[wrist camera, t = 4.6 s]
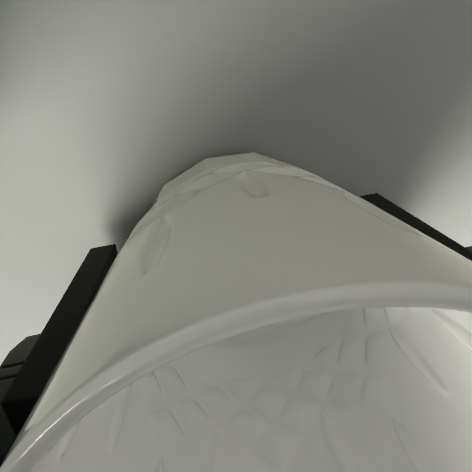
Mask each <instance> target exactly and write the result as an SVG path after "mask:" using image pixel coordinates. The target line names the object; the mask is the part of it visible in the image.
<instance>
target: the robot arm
mask: <svg viewBox="0 0 472 472" xmlns="http://www.w3.org/2000/svg"><path fill="white" fill-rule="evenodd" d="M360 197H361V198H363V199H364V200H366V201H368V202H370V203H372V204H373V205H375V206H377V207H379V208H380V209H382V210H384V211H386V212H387V213H389V214H391V215H393V216H394V217H396V218H398V219H399V220H401V221H403V222H405V223H406V224H408V225H410V226H412V227H413V228H415V229H417V230H419V231H420V232H422V233H424V234H426V235H427V236H429V237H431V238H432V239H434V240H436V241H438V242H439V243H441V244H443V245H445V246H446V247H448V248H450V249H452V250H453V251H455V252H457V253H459V254H461V255H462V256H464V257H466V258H468V259H469V260H471V261H472V246H470V247H463V246H461V245H460V244H458V243H457V242H455V241H453V240H452V239H450V238H448V237H447V236H445V235H444V234H442V233H440V232H439V231H437V230H435V229H434V228H432V227H431V226H429V225H427V224H426V223H424V222H423V221H421V220H419V219H418V218H416V217H414V216H413V215H411V214H410V213H408V212H406V211H405V210H403V209H402V208H400V207H398V206H397V205H395V204H393V203H392V202H390V201H389V200H387V199H385V198H384V197H382V196H381V195H379V194H377V193H375V194H370V195H365V196H360ZM117 254H118V252H117V249H116V245H115V244H113V245H108V246H102V247H97V248H92V249H90V251H89V253H88V255H87V256H86V258H85V260H84V261H83V263H82V265H81V266H80V268H79V270H78V272H77V273H76V275H75V277H74V278H73V280H72V282H71V284H70V285H69V287H68V289H67V290H66V292H65V294H64V295H63V297H62V299H61V301H60V302H59V304H58V306H57V307H56V309H55V311H54V313H53V314H52V316H51V318H50V319H49V321H48V323H47V324H46V326H45V328H44V330H43V331H42V333H41V334H38V335H33V336H28V337H26V338H25V339H24V340H23V341H22V342H20V343H19V344H18V345H17V346H16V347H15V348H13V349H12V350H11V351H10V352H9V354H8V355H7V357H6V358H5V360H4V361H3V363H2V364H1V366H0V466H1V464H2V462H3V461H4V459H5V457H6V455H7V453H8V452H9V450H10V448H11V446H12V445H13V443H14V441H15V439H16V437H17V436H18V434H19V432H20V430H21V428H22V427H23V425H24V423H25V421H26V419H27V418H28V416H29V414H30V412H31V411H32V409H33V407H34V405H35V403H36V402H37V400H38V398H39V396H40V394H41V393H42V391H43V389H44V387H45V385H46V384H47V382H48V380H49V378H50V376H51V375H52V373H53V371H54V369H55V367H56V366H57V364H58V362H59V360H60V358H61V356H62V355H63V353H64V351H65V349H66V347H67V346H68V344H69V342H70V340H71V338H72V336H73V334H74V333H75V331H76V329H77V327H78V325H79V323H80V322H81V320H82V318H83V316H84V314H85V312H86V311H87V309H88V307H89V305H90V304H91V302H92V300H93V299H94V297H95V295H96V293H97V291H98V290H99V288H100V286H101V284H102V282H103V280H104V279H105V277H106V275H107V273H108V271H109V269H110V268H111V266H112V264H113V262H114V260H115V258H116V257H117Z"/></svg>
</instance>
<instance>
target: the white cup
mask: <svg viewBox="0 0 472 472" xmlns="http://www.w3.org/2000/svg"><path fill="white" fill-rule="evenodd" d="M0 472H472V261H471V260H469V259H468V258H466V257H464V256H462V255H461V254H459V253H457V252H455V251H453V250H452V249H450V248H448V247H446V246H445V245H443V244H441V243H439V242H438V241H436V240H434V239H432V238H431V237H429V236H427V235H426V234H424V233H422V232H420V231H419V230H417V229H415V228H413V227H412V226H410V225H408V224H406V223H405V222H403V221H401V220H399V219H398V218H396V217H394V216H393V215H391V214H389V213H387V212H386V211H384V210H382V209H380V208H379V207H377V206H375V205H373V204H372V203H370V202H368V201H366V200H364V199H363V198H361V197H359V196H356V195H354V194H352V193H350V192H348V191H346V190H344V189H342V188H340V187H338V186H337V185H335V184H333V183H331V182H329V181H327V180H325V179H323V178H321V177H319V176H317V175H315V174H313V173H310V172H308V171H306V170H303V169H301V168H299V167H296V166H293V165H290V164H287V163H285V162H282V161H279V160H276V159H273V158H270V157H267V156H264V155H261V154H258V153H255V152H251V153H243V154H235V155H228V156H220V157H212V158H205V159H203V160H202V161H200V162H199V163H197V164H196V165H194V166H193V167H191V168H190V169H188V170H186V171H185V172H183V173H182V174H180V175H179V176H177V177H176V178H174V179H173V180H171V181H170V182H168V183H167V184H165V185H164V186H163V187H162V189H161V191H160V192H159V194H158V196H157V198H156V199H155V201H154V203H153V205H152V206H151V208H150V210H149V211H148V212H147V213H146V214H145V215H144V217H143V218H142V219H141V220H140V221H139V222H138V223H137V225H136V226H135V228H134V229H133V231H132V233H131V235H130V236H129V238H128V239H127V241H126V242H125V244H124V245H123V247H122V248H121V250H120V251H119V252H118V254H117V257H116V258H115V260H114V262H113V264H112V266H111V268H110V269H109V271H108V273H107V275H106V277H105V279H104V280H103V282H102V284H101V286H100V288H99V290H98V291H97V293H96V295H95V297H94V299H93V300H92V302H91V304H90V305H89V307H88V309H87V311H86V312H85V314H84V316H83V318H82V320H81V322H80V323H79V325H78V327H77V329H76V331H75V333H74V334H73V336H72V338H71V340H70V342H69V344H68V346H67V347H66V349H65V351H64V353H63V355H62V356H61V358H60V360H59V362H58V364H57V366H56V367H55V369H54V371H53V373H52V375H51V376H50V378H49V380H48V382H47V384H46V385H45V387H44V389H43V391H42V393H41V394H40V396H39V398H38V400H37V402H36V403H35V405H34V407H33V409H32V411H31V412H30V414H29V416H28V418H27V419H26V421H25V423H24V425H23V427H22V428H21V430H20V432H19V434H18V436H17V437H16V439H15V441H14V443H13V445H12V446H11V448H10V450H9V452H8V453H7V455H6V457H5V459H4V461H3V462H2V464H1V466H0Z"/></svg>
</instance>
